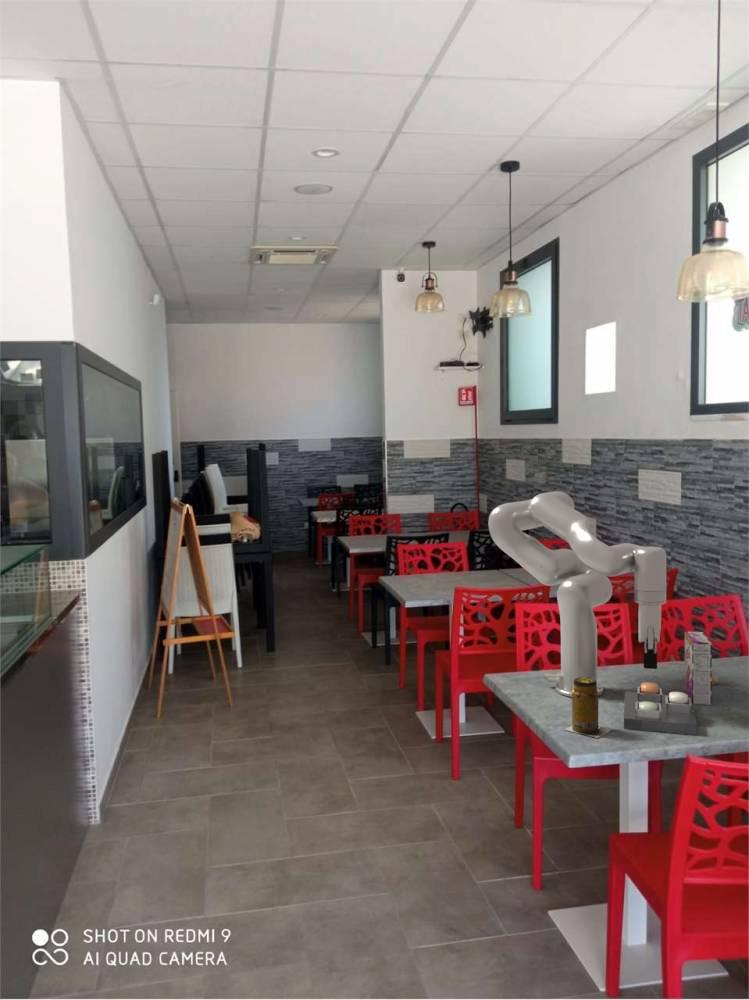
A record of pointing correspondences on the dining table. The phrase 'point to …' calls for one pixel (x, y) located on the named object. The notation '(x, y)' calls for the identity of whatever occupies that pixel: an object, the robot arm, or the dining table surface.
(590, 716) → the condiment
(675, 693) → the cream button
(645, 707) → the sage button
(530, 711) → the dining table surface
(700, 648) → the candy bar box
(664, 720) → the button panel
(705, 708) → the dining table surface
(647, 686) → the terracotta button
